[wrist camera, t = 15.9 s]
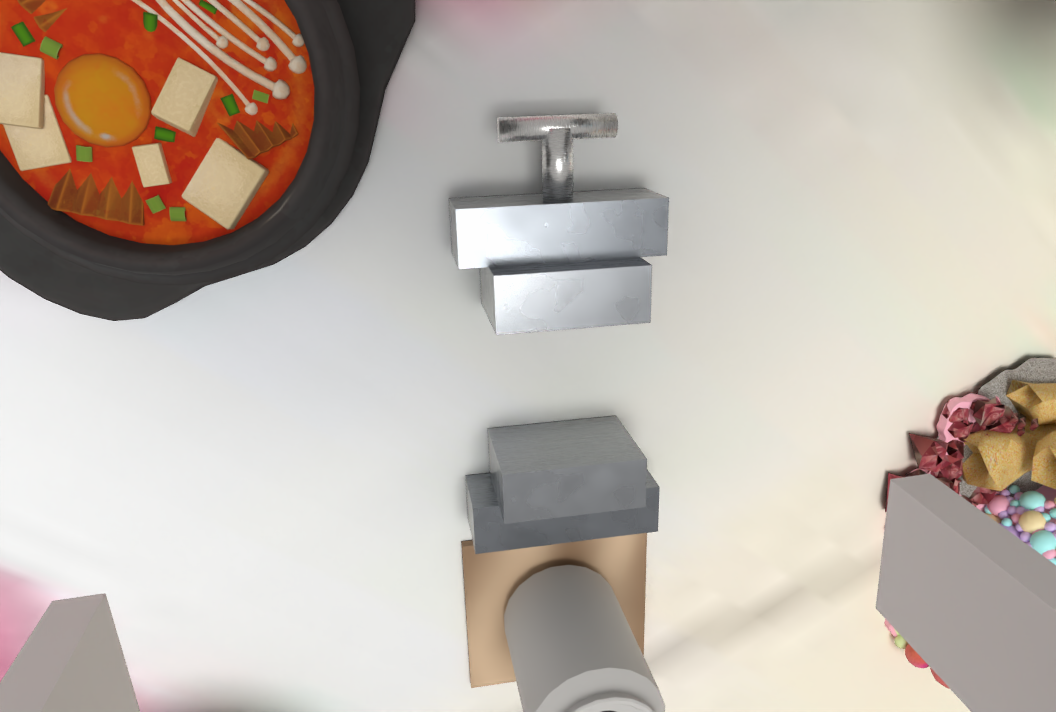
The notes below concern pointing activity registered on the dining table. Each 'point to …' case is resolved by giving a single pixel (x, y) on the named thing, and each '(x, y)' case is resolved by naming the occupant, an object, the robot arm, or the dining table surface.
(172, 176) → the casserole
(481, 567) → the mat
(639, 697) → the can
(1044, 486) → the candy landscape model
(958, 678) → the robot arm
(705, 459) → the dining table surface
